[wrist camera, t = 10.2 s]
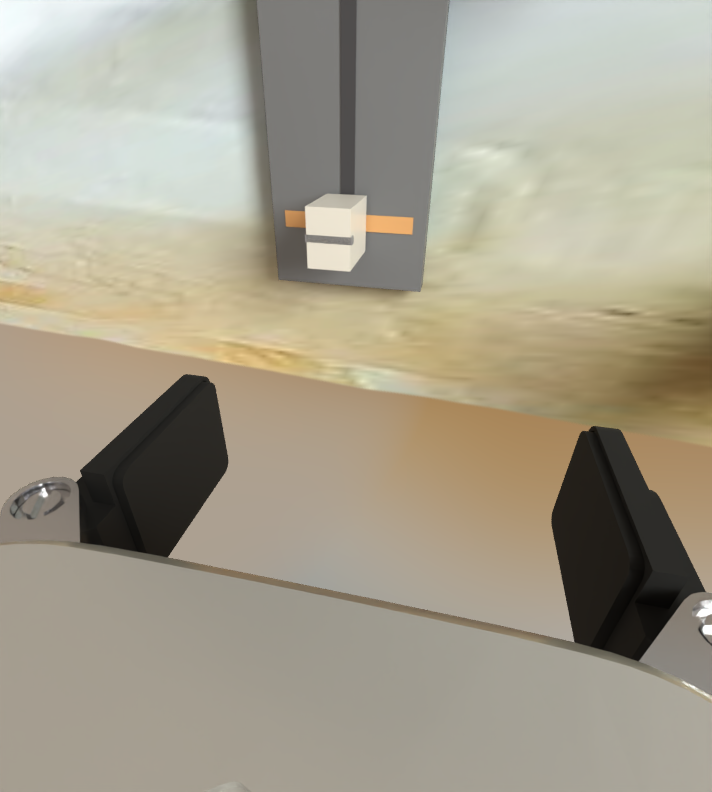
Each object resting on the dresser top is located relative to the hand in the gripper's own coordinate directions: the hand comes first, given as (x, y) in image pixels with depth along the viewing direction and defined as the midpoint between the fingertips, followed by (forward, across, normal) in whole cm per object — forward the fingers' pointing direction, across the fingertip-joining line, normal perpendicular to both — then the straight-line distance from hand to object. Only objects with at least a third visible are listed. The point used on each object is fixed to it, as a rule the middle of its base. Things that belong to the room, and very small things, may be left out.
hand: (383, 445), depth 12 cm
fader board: (+28, +7, -7) cm, 30 cm away
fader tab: (+26, +7, 0) cm, 27 cm away
